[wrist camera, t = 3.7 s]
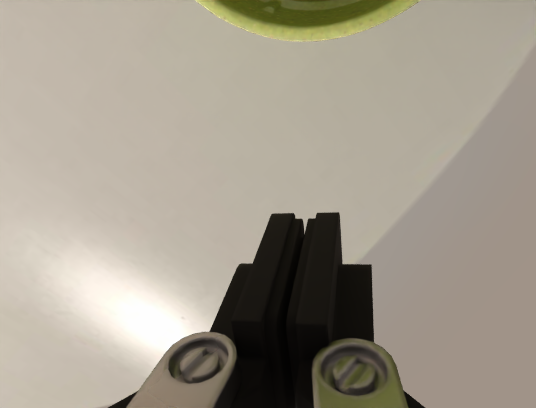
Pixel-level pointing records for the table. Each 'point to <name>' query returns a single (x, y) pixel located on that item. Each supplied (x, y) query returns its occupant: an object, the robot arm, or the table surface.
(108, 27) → the table surface
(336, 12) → the plant pot
